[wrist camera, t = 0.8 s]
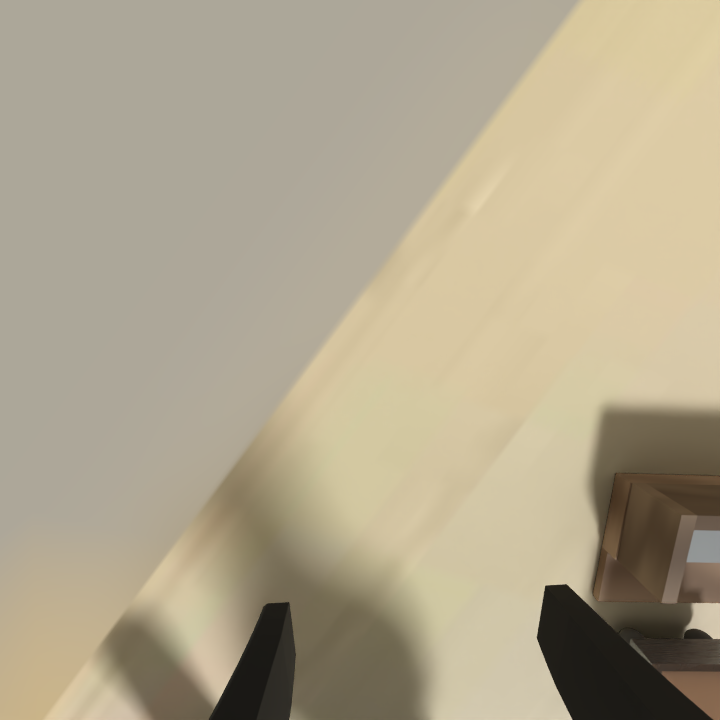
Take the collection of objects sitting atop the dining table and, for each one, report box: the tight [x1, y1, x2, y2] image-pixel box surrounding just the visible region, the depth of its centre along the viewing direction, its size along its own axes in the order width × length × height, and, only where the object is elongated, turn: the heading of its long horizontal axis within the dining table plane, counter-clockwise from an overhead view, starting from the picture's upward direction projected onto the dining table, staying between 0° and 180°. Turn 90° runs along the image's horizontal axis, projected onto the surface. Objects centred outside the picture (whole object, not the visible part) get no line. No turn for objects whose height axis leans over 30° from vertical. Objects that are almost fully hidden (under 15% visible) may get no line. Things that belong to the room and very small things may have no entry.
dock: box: [593, 473, 720, 604], centre depth 20 cm, size 8×9×4 cm
